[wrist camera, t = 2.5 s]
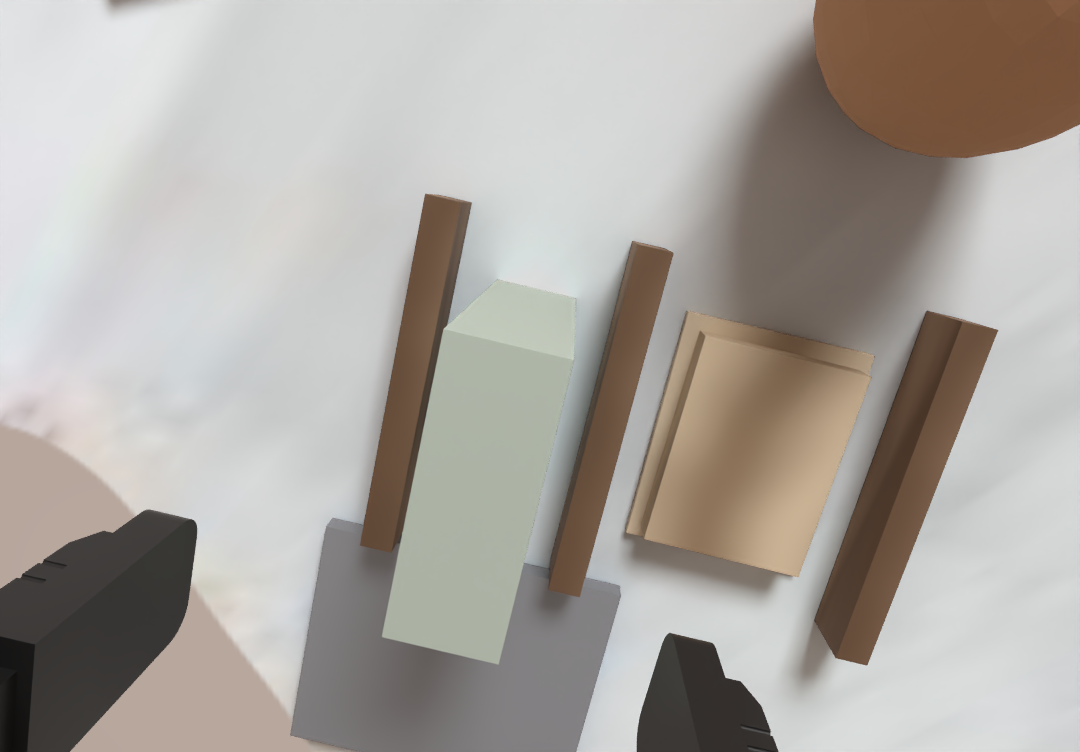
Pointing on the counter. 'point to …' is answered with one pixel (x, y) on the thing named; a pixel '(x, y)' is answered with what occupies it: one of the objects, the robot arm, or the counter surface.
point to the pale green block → (481, 470)
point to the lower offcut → (679, 372)
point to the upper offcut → (752, 453)
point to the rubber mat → (445, 665)
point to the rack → (883, 506)
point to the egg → (953, 71)
